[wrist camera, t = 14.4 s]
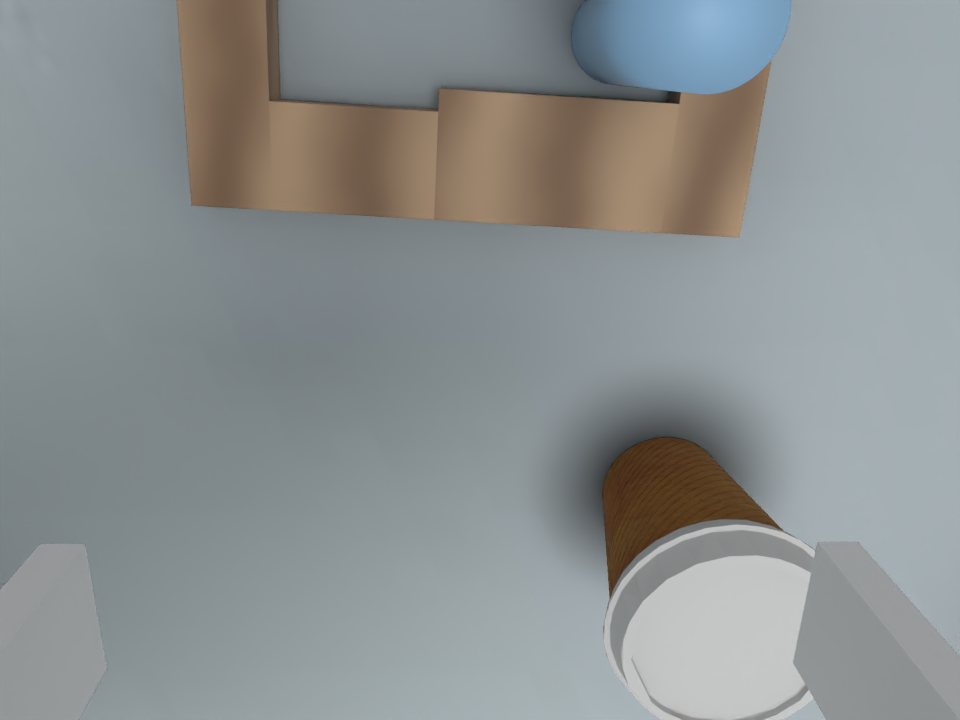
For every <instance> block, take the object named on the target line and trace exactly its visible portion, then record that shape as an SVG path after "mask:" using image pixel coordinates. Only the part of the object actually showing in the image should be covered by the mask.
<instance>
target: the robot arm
mask: <svg viewBox="0 0 960 720" xmlns="http://www.w3.org/2000/svg"><path fill="white" fill-rule="evenodd" d="M793 664H794V666H795V667H796V669H797V671H798V672H799V674H800V676H801V678H802V679H803V681H804V683H805V684H806V686H807V688H808V689H809V691H810V693H811V694H812V696H813V698H814V700H815V701H816V703H817V705H818V706H819V708H820V710H821V711H822V713H823V715H824V716H825V718H826V720H960V656H959V655H958V654H957V653H956V652H955V651H954V649H953V648H952V647H951V646H950V645H949V644H948V643H947V642H946V640H945V639H944V638H943V637H942V636H941V635H940V634H939V633H938V631H937V630H936V629H935V628H934V627H933V626H932V625H931V623H930V622H929V621H928V620H927V619H926V618H925V617H924V616H923V614H922V613H921V612H920V611H919V610H918V609H917V608H916V607H915V605H914V604H913V603H912V602H911V601H910V600H909V599H908V597H907V596H906V595H905V594H904V593H903V592H902V591H901V590H900V588H899V587H898V586H897V585H896V584H895V583H894V582H893V581H892V579H891V578H890V577H889V576H888V575H887V574H886V573H885V572H884V570H883V569H882V568H881V567H880V566H879V565H878V564H877V562H876V561H875V560H874V559H873V558H872V557H871V556H870V555H869V553H868V552H867V551H866V550H865V549H864V548H863V547H862V546H861V544H860V543H859V542H817V546H816V551H815V556H814V561H813V566H812V571H811V576H810V581H809V586H808V591H807V596H806V600H805V605H804V610H803V615H802V620H801V625H800V630H799V635H798V640H797V645H796V650H795V655H794V659H793ZM106 671H107V665H106V659H105V654H104V648H103V642H102V637H101V631H100V626H99V620H98V614H97V609H96V603H95V597H94V592H93V586H92V580H91V575H90V569H89V563H88V558H87V552H86V546H85V544H40V545H39V546H38V547H37V548H36V549H35V550H34V551H33V553H32V554H31V555H30V556H29V557H28V558H27V560H26V561H25V562H24V563H23V564H22V565H21V566H20V568H19V569H18V570H17V571H16V572H15V573H14V575H13V576H12V577H11V578H10V579H9V580H8V581H7V583H6V584H5V585H4V586H3V587H2V588H1V589H0V720H79V718H80V716H81V715H82V713H83V711H84V709H85V708H86V706H87V704H88V702H89V701H90V699H91V697H92V695H93V694H94V692H95V690H96V688H97V687H98V685H99V683H100V681H101V680H102V678H103V676H104V674H105V673H106Z"/></svg>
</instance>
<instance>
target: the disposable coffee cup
mask: <svg viewBox="0 0 960 720" xmlns="http://www.w3.org/2000/svg"><path fill="white" fill-rule="evenodd" d="M602 497H603V506H604V521H605V539H606V554H607V566H608V581H609V595H610V600H609V602H608V607H607V612H606V617H605V622H604V627H603V632H604V642H605V647H606V653H607V657H608V659H609V661H610V664H611V666H612V669H613V671H614V672H615V673H616V675H617V676H618V678H619V679H620V681H621V682H622V683H623V684H624V686H625V687H626V688H627V689H628V690H629V691H630V692H631V693H633V694H634V695H635V697H636V698H637V700H638V701H639V702H640V703H641V704H642V705H643V706H644V707H645V708H646V709H647V710H648V711H650V712H651V713H652V714H654V715H655V716H657V717H658V718H659V719H662V720H782V719H784V718H786V717H788V716H790V715H792V714H793V713H795V712H797V711H798V710H800V709H801V708H802V707H804V706H805V705H806V704H808V703H809V702H810V701H811V700H813V699H814V698H813V696H812V694H811V693H810V691H809V689H808V688H807V686H806V684H805V683H804V681H803V679H802V678H801V676H800V674H799V672H798V671H797V669H796V667H795V666H794V664H793V659H794V655H795V650H796V645H797V640H798V635H799V630H800V625H801V620H802V615H803V610H804V605H805V600H806V596H807V591H808V586H809V581H810V576H811V571H812V566H813V561H814V556H815V550H814V549H813V548H812V547H811V546H809V545H807V544H806V543H804V542H802V541H801V540H799V539H797V538H796V537H794V536H792V535H791V534H789V533H787V532H785V531H783V530H782V529H781V528H780V527H779V526H778V525H777V524H776V523H775V522H774V521H773V520H772V519H771V518H770V517H769V516H768V514H767V513H766V512H764V511H763V510H762V508H761V507H760V506H759V505H758V504H757V503H756V502H755V501H754V500H753V499H752V498H751V497H750V496H749V495H748V494H747V493H746V492H745V491H744V490H743V489H742V488H741V487H740V486H739V485H738V484H737V483H736V482H735V481H734V480H733V479H732V478H731V477H730V476H729V475H728V474H727V473H726V472H725V471H724V470H723V469H722V468H721V467H720V466H719V465H718V463H717V462H716V461H715V460H714V459H713V458H712V457H711V456H710V455H709V454H708V453H707V452H706V451H705V450H704V449H703V448H701V447H700V446H698V445H697V444H695V443H692V442H690V441H687V440H684V439H679V438H665V437H662V438H656V439H651V440H647V441H644V442H642V443H639V444H637V445H635V446H633V447H631V448H629V449H628V450H627V451H625V452H624V453H623V454H622V455H620V456H619V457H618V458H617V460H616V461H615V462H614V463H613V464H612V466H611V468H610V470H609V471H608V473H607V475H606V478H605V481H604V484H603V493H602Z"/></svg>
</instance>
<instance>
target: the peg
mask: <svg viewBox="0 0 960 720" xmlns="http://www.w3.org/2000/svg"><path fill="white" fill-rule="evenodd" d="M790 12H791V0H585V1H584V2H583V4H582V5H581V6H580V8H579V10H578V12H577V14H576V16H575V19H574V22H573V26H572V33H571V41H572V48H573V52H574V55H575V58H576V60H577V62H578V64H579V65H580V66H581V68H582V69H583V70H584V71H585V72H586V73H587V74H588V75H589V76H590V77H592V78H593V79H595V80H597V81H599V82H602V83H606V84H612V85H621V86H630V87H639V88H648V89H657V90H666V91H675V92H684V93H693V94H716V93H722V92H725V91H729V90H732V89H734V88H736V87H739V86H741V85H742V84H744V83H746V82H748V81H749V80H750V79H752V78H753V77H754V76H756V75H757V74H758V73H759V72H760V71H761V70H762V69H763V68H764V67H765V66H766V65H767V64H768V63H769V62H770V60H771V59H772V58H773V56H774V55H775V53H776V52H777V50H778V49H779V47H780V45H781V43H782V41H783V38H784V36H785V33H786V30H787V27H788V23H789V19H790Z"/></svg>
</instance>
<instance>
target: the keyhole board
mask: <svg viewBox="0 0 960 720" xmlns="http://www.w3.org/2000/svg"><path fill="white" fill-rule="evenodd" d="M177 10H178V24H179V38H180V52H181V66H182V80H183V94H184V108H185V122H186V136H187V150H188V164H189V178H190V193H191V206H208V207H225V208H242V209H259V210H277V211H294V212H311V213H328V214H345V215H362V216H380V217H397V218H414V219H431V220H448V221H465V222H483V223H500V224H517V225H534V226H551V227H568V228H586V229H603V230H620V231H637V232H654V233H671V234H689V235H706V236H723V237H740V232H741V226H742V221H743V215H744V209H745V204H746V198H747V193H748V187H749V182H750V176H751V170H752V165H753V159H754V154H755V148H756V143H757V137H758V132H759V126H760V120H761V115H762V109H763V104H764V98H765V93H766V87H767V81H768V76H769V70H770V65H771V60H770V62H769V63H768V64H767V65H766V66H765V67H764V68H763V69H762V70H761V71H760V72H759V73H758V74H757V75H756V76H754V77H753V78H752V79H750V80H749V81H748V82H746V83H744V84H742V85H741V86H739V87H736V88H734V89H732V90H729V91H725V92H722V93H716V94H693V93H684V92H675V91H670V92H669V99H668V102H657V101H641V100H626V99H610V98H594V97H578V96H562V95H547V94H531V93H515V92H499V91H483V90H468V89H452V88H440V89H439V104H438V109H425V108H409V107H393V106H377V105H361V104H345V103H329V102H313V101H297V100H281V99H280V72H279V38H278V4H277V0H177Z"/></svg>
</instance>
